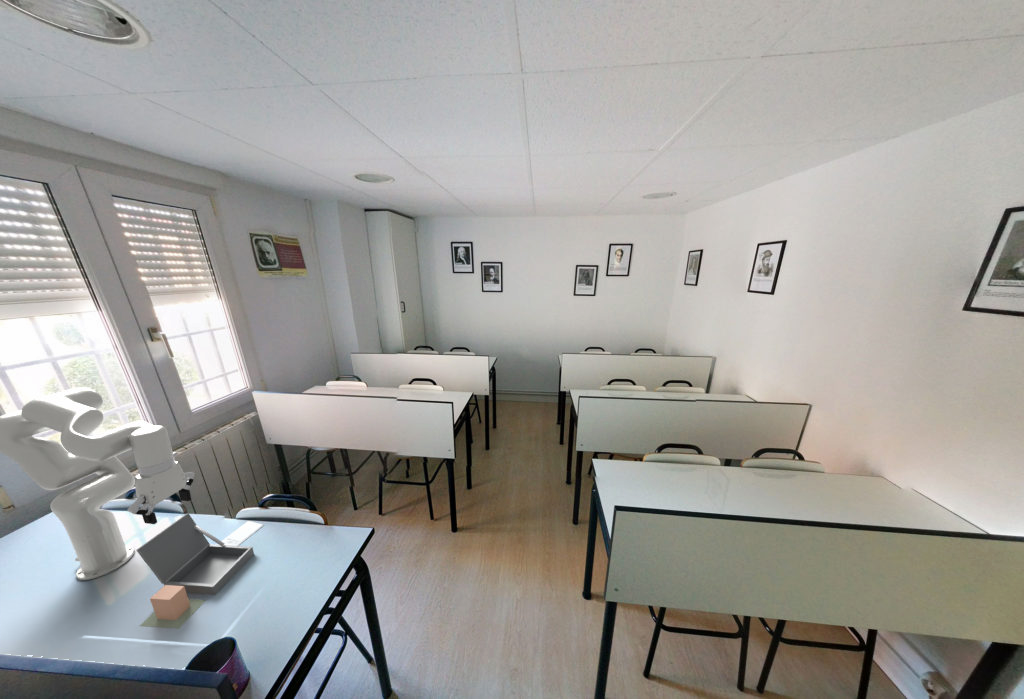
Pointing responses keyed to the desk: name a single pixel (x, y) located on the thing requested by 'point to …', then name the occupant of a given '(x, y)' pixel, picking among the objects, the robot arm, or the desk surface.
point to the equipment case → (193, 558)
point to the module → (170, 602)
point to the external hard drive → (242, 533)
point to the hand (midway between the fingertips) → (169, 511)
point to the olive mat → (176, 624)
